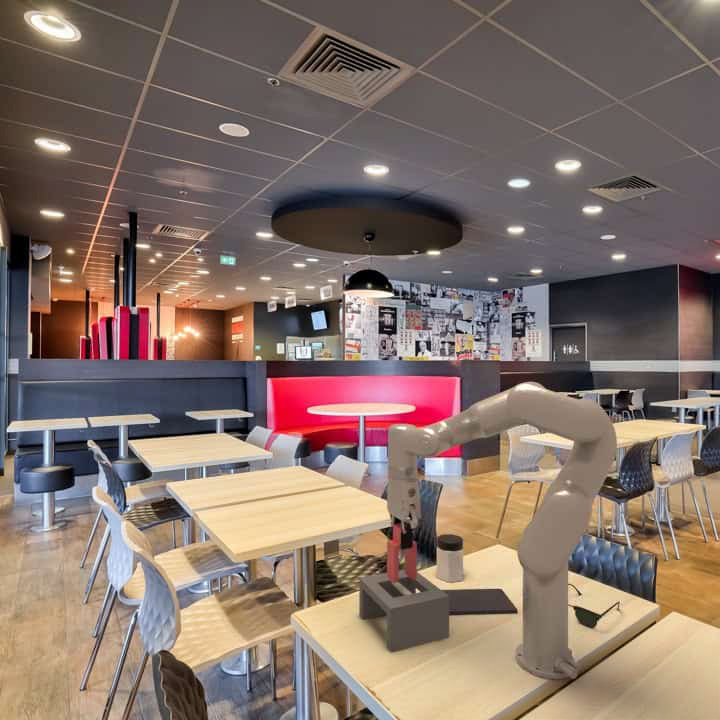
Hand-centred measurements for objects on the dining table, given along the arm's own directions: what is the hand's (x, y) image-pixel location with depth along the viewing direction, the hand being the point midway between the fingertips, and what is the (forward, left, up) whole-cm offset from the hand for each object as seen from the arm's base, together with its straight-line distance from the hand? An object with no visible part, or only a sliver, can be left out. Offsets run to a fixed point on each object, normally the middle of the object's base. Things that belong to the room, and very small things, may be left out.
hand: (402, 544), depth 124 cm
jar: (+20, -28, -21) cm, 40 cm away
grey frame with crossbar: (0, 0, -21) cm, 21 cm away
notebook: (+3, -24, -21) cm, 32 cm away
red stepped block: (0, 0, -8) cm, 8 cm away
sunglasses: (-13, -49, -21) cm, 55 cm away
